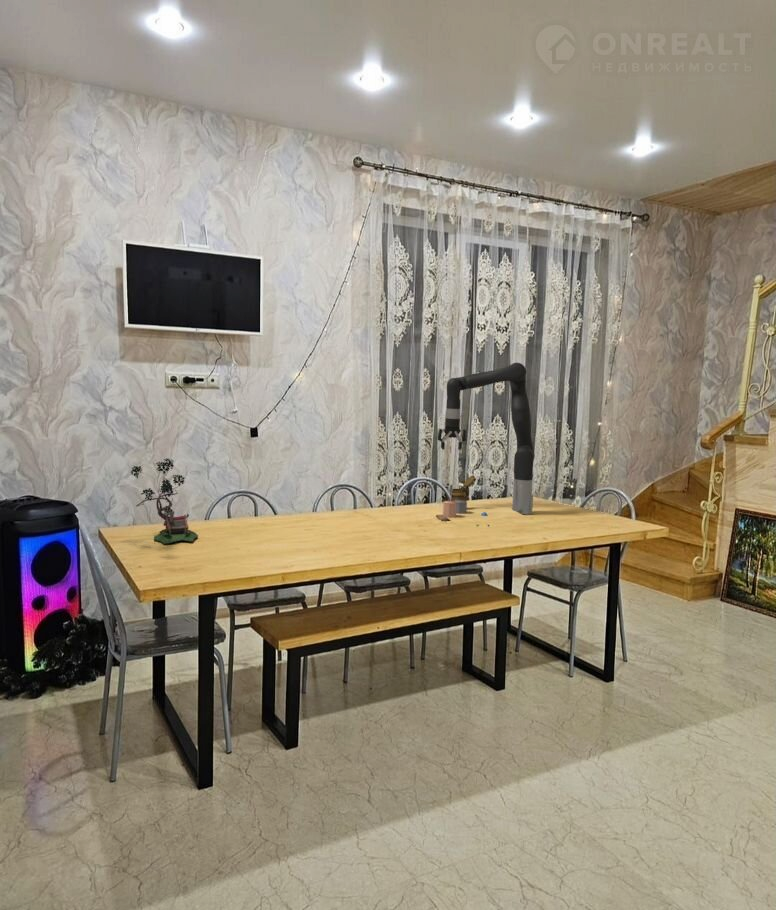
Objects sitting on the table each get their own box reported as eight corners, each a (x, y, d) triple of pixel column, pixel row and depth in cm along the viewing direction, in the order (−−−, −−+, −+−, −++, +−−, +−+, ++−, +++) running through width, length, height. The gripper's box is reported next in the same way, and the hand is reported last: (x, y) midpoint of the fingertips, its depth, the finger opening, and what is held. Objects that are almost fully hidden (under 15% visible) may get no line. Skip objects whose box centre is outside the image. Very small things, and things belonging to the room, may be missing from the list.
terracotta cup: (453, 515, 336) (454, 500, 335) (457, 518, 330) (458, 503, 330) (441, 515, 335) (442, 500, 334) (445, 518, 329) (445, 503, 328)
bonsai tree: (127, 534, 278) (127, 454, 275) (190, 530, 290) (190, 453, 287) (142, 555, 248) (142, 466, 244) (212, 549, 260) (213, 464, 256)
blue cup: (463, 514, 347) (464, 500, 346) (467, 516, 341) (468, 502, 340) (452, 514, 345) (452, 500, 345) (455, 516, 340) (456, 502, 339)
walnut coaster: (456, 517, 339) (456, 514, 338) (462, 521, 329) (462, 518, 329) (435, 517, 337) (436, 514, 337) (441, 521, 327) (441, 518, 327)
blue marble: (486, 517, 340) (486, 511, 340) (488, 519, 337) (488, 512, 337) (480, 517, 339) (480, 511, 339) (482, 519, 336) (482, 512, 336)
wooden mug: (477, 512, 354) (479, 476, 352) (454, 513, 348) (456, 477, 346) (467, 508, 362) (469, 474, 360) (444, 510, 355) (446, 474, 353)
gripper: (464, 417, 363) (462, 449, 364) (437, 416, 360) (435, 448, 362) (468, 418, 355) (466, 450, 357) (441, 417, 353) (439, 450, 354)
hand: (451, 449), depth 359 cm, fingers open, 8 cm apart
